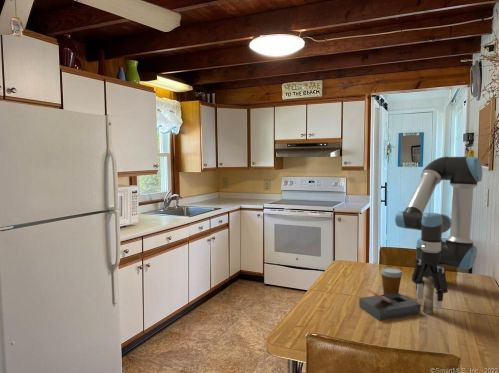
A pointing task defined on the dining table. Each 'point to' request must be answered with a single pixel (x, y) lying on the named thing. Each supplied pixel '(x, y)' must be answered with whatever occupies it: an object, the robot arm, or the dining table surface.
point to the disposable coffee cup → (391, 280)
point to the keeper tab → (380, 296)
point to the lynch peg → (428, 294)
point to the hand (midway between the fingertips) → (428, 303)
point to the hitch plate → (389, 306)
